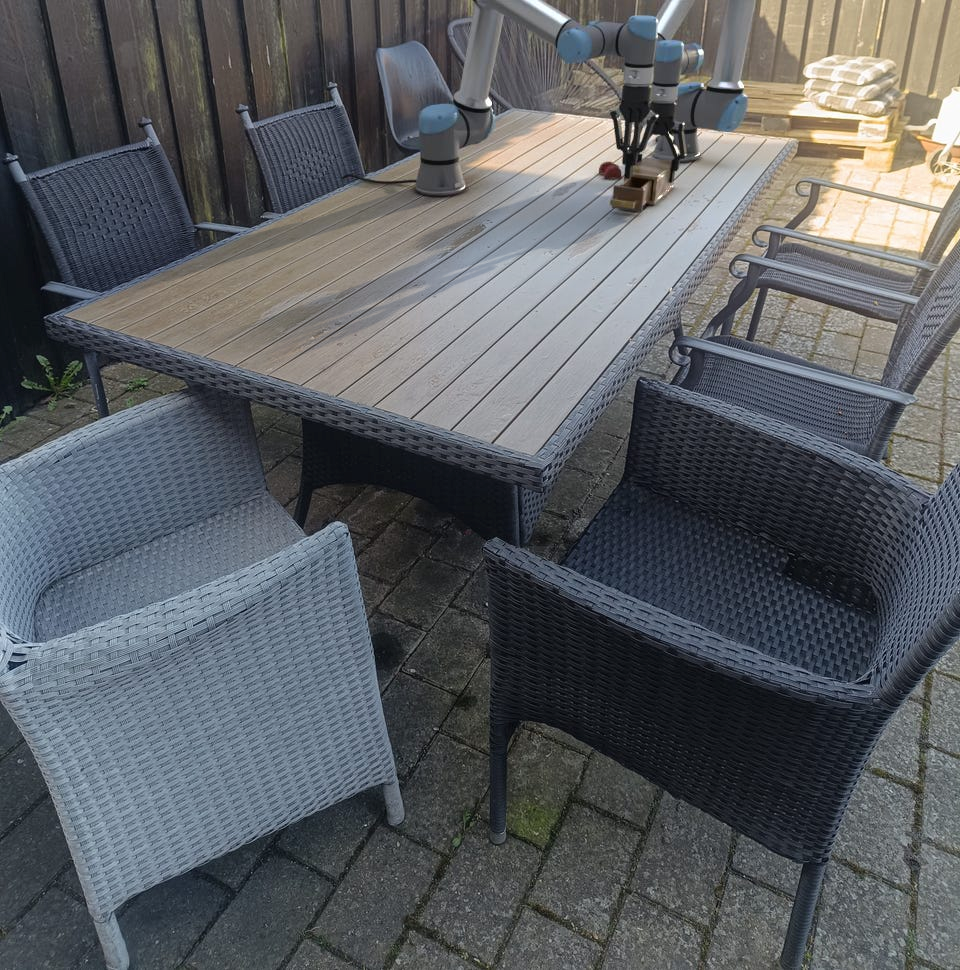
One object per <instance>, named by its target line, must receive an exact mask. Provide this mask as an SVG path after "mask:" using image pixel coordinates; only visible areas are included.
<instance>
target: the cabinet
mask: <svg viewBox="0 0 960 970" xmlns="http://www.w3.org/2000/svg"><path fill="white" fill-rule="evenodd" d="M671 163H672V161H671V160H663V159H658V158H656V157H647V156H646V157H645V156H644V157H642V160H641V161H639V162H638V163H637V164H636V165H635V166H633V174H632V177H635V178H643V179H651V180H654V185H653V193H652V198H651V199H650V200H649V201H648V202H647V203H646V204H645V205H651V206H655V205H657V203H659V202H660V201H661V200H662V199H663V198H664V197H666V195H667V194H668V193H669V192H670V191H672V190H673V188H674V181H675V180H674V181H673V182H672V183H669V179H670V171H671ZM626 180H627V178H624V177H623V182H624V181H626Z"/></svg>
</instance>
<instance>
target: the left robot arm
mask: <svg viewBox="0 0 960 970" xmlns="http://www.w3.org/2000/svg"><path fill="white" fill-rule="evenodd" d="M471 1H472V2H473V3H474V6H473V13H472V17H471V22H470V23H471V24H470V29H469V35H468V41H467V46H466V53H465V58H464V65H463V70H462V76H461V82H460V88H459V90H457V91H456V92H455V93H454V94H453V99H452V104H451V103H438V104H431V105H428V106H426V107H424V108H423V109H422V110H421V111H420V112H419V114H418V115H419V116H418V126H417V127H418V137H419V138H418V139H419V157H420V158H419V159H420V161H419V162H420V164H419V168H418V172H417V176H416V179H404V180H375V179H370V178H364V177H362V176H359V175H357V174H354V173H347V174H344V175H343V176H342V177H341V180H345V179H346V178H348V177H350V178H355V179H357V180H360V181H363V182H368V183H372V184H379V185H397V184H398V185H399V184H412V183H415V192H417V193H418V194H420V195H424V196H430V197H450V196H455V195H459V194H461V193H463V192H464V191H466V181H465V179H464V176H463V172H462V169H461V165H460V149H463V148H466V147H470V146H473V145H479V144H480V143H482V142H484V141H486V140H487V139H488V138H489V137H490V136H491V135H492V133H493V131H494V129H495V126H496V115H495V114H494V109H493V107H492V103H493V102H492V101H491V99H490V97H489V94H490V88H491V83H492V77H493V72H494V68H495V63H496V62H495V61H496V58H497V53H498V48H499V44H500V43H499V42H500V39H501V38H500V37H501V32H502V28H503V21H504V17H506V18H507V19H508V20H510V21H512V22H514V23H515V24H517V25H518V26H520V27H521V28H523V29H525V30H527V31H528V32H529V33H531V34H533V35H535V37H536V38H537V37H538V38H539V39H540V40H542V41H543V42H545V43H547V44H548V45H550V46H551V47H553V48H554V49H556V50H557V53H558V55H559V57H560V59H561V60H562V61H564V62H565V63H567V64H580V63H583V62H585V61H589V60H593V59H598V58H601V57H607V56H611V57H620V58H621V57H622V58H624V69H623V77H622V78H623V79H622V81H623V85H622V88H621V89H622V90H621V99H620V104H619V105H618V107H617V108H616V109H613V110H612V111H610V113H609V114H610V118H611V119H612V122H613V123H612V124H613V130H614V138H615V146H616V150H618V151H619V150H620V151H621V152H622V159H621V163H622V165H624V175H623V179H624V178H627V179H629V178H631V177H632V174H633V166H635V165H636V164H637V159H638V153H639V152H640V153H642V152H643V151H645V150H646V148H647V146H648V142H649V140H650V139H649V137H650V134H651V131H652V128H653V125H654V123H655V121H656V120H657V119H658V117H659V115H658V114H655V113H654V112H653V111H652V110H651V105H650V102H651V100H652V99H651V93H652V85H651V84H653V76H654V59H655V51H656V43H657V38H658V20H657V18H656V16H653V15H640V14H639V15H637V14H636V15H631V16H630V17H629V18H628V21H627V23H619V22H611V21H605V20H593V21H589V22H588V24H587V25H586V26H585V25H583V24H581V23H579V22H578V21H576V20H574V19H573V18H571V17H570V16H568V15H566V14H565V13H563V12H561V11H560V10H559V9H557V8H555V7H554V6H552V5H550V4H549V3H547V2H545V1H544V0H471ZM621 116H622V118H623V119H624V131H623V129H622V119H621ZM647 116H648V117H647ZM645 117H646V118H647V119H648V120H649V122H648V123H646V125H645V128H644V129H645V130H644V132H643V135H641V134H642V132H641V126H642V121H643V120H644V119H645ZM632 130H633V136H632ZM623 132H624V133H623ZM641 136H642V138H641ZM650 138H651V137H650ZM632 140H633V146H632V151H629V150H630V145H631V142H632ZM640 143H641V144H640ZM639 145H640V147H639Z"/></svg>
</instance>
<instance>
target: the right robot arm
mask: <svg viewBox="0 0 960 970" xmlns="http://www.w3.org/2000/svg"><path fill="white" fill-rule="evenodd" d="M695 2H696V0H665V1H664V3H663V4H662V6H661V8H660V9H659V11H658V12H657V14H656V16H655V17H656V18H657V20H658V38H657V43H656V51H655V59H654V71H653V81H652V83H651V84H652V85H651V86H652V90H651V99H650V105H651V110H652V111H653V112H654V113H655V114H658V115H659V117H658V119H657V120H656V121H655V123H654V125H653V128H652V131H651V134H650V137H649V140H650V139H651V138H652V136H653V135H654V136H656V137H655V142H656V144H655V147H654V151H653V156H654V158H655V159H663V160H671V161H672V163H671V171H670V179H669V183H672V182H673V181H675V175H676V172H678V171H679V169H680V163H688V162H693V161H697V160H698V159H700V147H699V139H698V128H699V129H704V130H712V131H716V132H725V133H733V132H734V131H735V130H737V129H738V128H739V126H740V125H741V123H742V122H743V120H744V118H745V116H746V113H747V110H748V105H749V101H748V100H749V97H748V95H747V94H745V93H744V90H745V89H744V88H745V86H744V85H743V83H742V81H741V79H742V73H743V69H744V64H745V57H746V53H747V47H748V43H749V42H748V41H749V37H750V31H751V27H752V21H753V15H754V12H755V5H756V0H726V1H725V7H724V12H723V13H724V14H723V18H722V22H721V23H722V24H721V30H720V35H719V40H718V46H717V51H716V52H717V53H716V59H715V63H714V70H713V75H712V79H711V80H710V81H709V82H707V83H706V87H705V85H704V84H705V83H704V82H701V81H686V82H680V79H681V76H683V75H685V74H691V73H693V72H695V71H697V70H699V68H700V67H701V66H702V64H703V62H704V59H705V54H704V50H703V48H702V47H701V45H699V44H698V43H695V42H693V43H692V42H687V43H686V44H685V43H683V41H681V40H676V39H673V37H674V36H675V34H676V33H677V31H678V29H679V28H680V26H681V24H682V23H683V21H684V19H685V18H686V16H687V15H688V14H689V11H690V10H691V8H692V6H693V5H694V3H695ZM648 122H649V120H648V118H647V116H646V117H645V119H644V120H643V121H642V126H641V133H642V132H643V129H644V127H646V125H647V123H648ZM640 144H641V142H640ZM640 144H639V147H640ZM632 146H633V139H631V141H630V150H629V151H632ZM642 159H643V153H641V152H639V153H638V159H637V163H638V162H639V161H641V160H642ZM673 183H674V182H673Z"/></svg>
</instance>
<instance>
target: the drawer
mask: <svg viewBox="0 0 960 970" xmlns="http://www.w3.org/2000/svg"><path fill="white" fill-rule="evenodd" d="M653 185H654V180H651V179H643V178H635V177H631V178H629V179H627V180H626V181H624V180H623V182H622V183H620V184H619V185H617V184H615V185H613V190H612V191H613V192H612V198H610V199H609V206H611V208H612V209H618V210H625V211H632V212H638V213H639V212H640V213H642V212H643V209H644V206H645V205H647V204H646V203H647V202H648V201H649V200H650V199H651V198H652V193H653Z"/></svg>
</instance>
